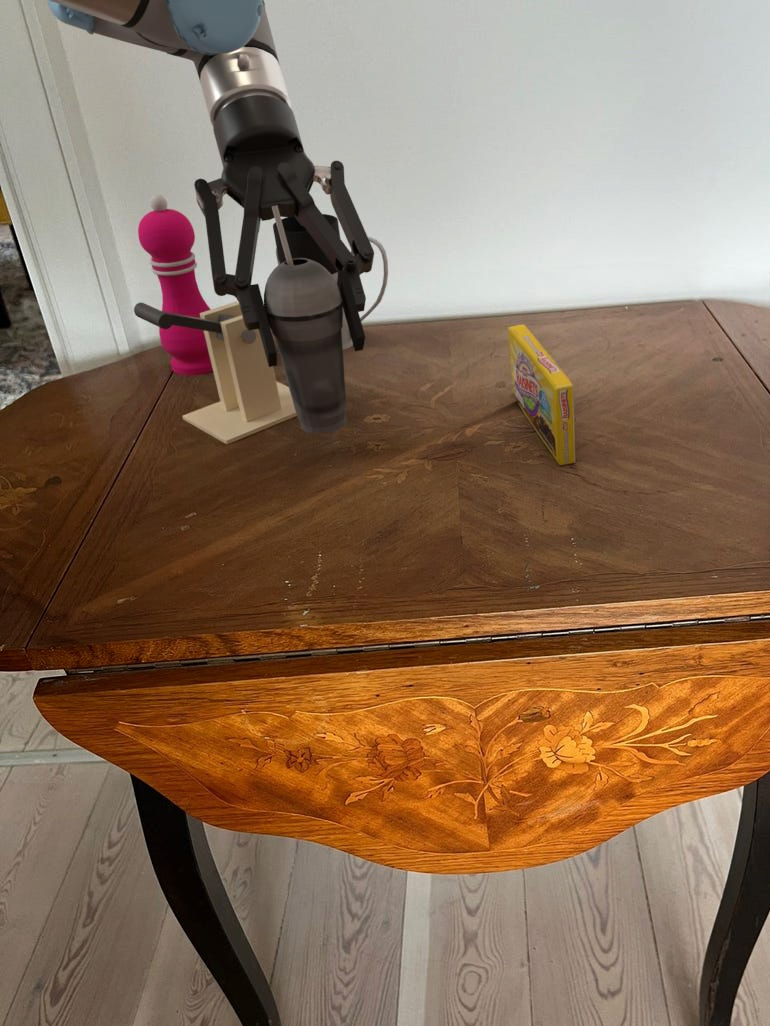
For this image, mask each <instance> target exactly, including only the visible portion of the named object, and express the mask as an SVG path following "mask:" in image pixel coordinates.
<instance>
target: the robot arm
mask: <svg viewBox="0 0 770 1026" xmlns="http://www.w3.org/2000/svg"><path fill="white" fill-rule="evenodd" d="M46 2H47V4H48V7H49V10H50V11H51V13H52V15H54V17H55V18H56V19H57V20H59V22H61V23H63V24H65V25H69V26H71V27H74V28H78V29H81V30H84V31H86V32H87V33H88V34H89V35H94V34H96V35H100V36H103V37H107V38H110V39H113V40H118V41H120V42H125V43H128V44H132V45H135V46H139V47H142V48H146V49H151V50H153V51H154V50H155V51H159V52H162V53H166V54H167V55H170V56H174V57H178V58H182V59H186V60H188V61H192V62H193V65H194V67H195V71H196V74H197V76H198V79H199V83H200V86H201V90H202V94H203V98H204V101H205V105H206V109H207V113H208V116H209V121H210V123H211V125H212V128H213V129H212V130H213V135H214V138H215V142H216V145H217V150H218V153H219V157H220V161H221V165H222V171H221V177H220V178H217V179H214V180H212V181H209V182H208V181H207V179H204V178H197V179H195V181H194V182H193V183H194V185H193V186H194V193H195V199H196V203H197V205H198V207H199V209H200V211H201V214H203V216H204V219H205V227H206V235H207V244H208V245H207V246H208V252H209V261H210V271H211V278H212V284H213V290H214V293H215V294H216V295H217V296H219V297H223V296H224V297H225V296H226V295H228V296H233V297H234V298H236V301H237V302H239V305H240V309H241V313H242V316H243V320H244V324H245V326H246V328H247V329H248V330H249V331H250V330H255V329H259V332H260V336H261V340H262V343H263V347H264V351H265V354H266V358H267V362H268V366H269V367H272V366H273V367H277V366H278V351H277V347H276V345H275V341H274V336H273V334H272V331H271V329H270V326H269V322H268V318H267V314H266V311H265V307H264V299H263V296H262V292H261V290H260V286H259V285H260V284H259V283H254V284H252V280H253V274H254V265H255V259H256V253H257V245H258V238H259V233H260V229H261V222H264V221H265V222H266V221H270V220H273V219H275V217H274V214H273V210H272V206H276V205H277V206H278V210H279V213H280V217H281V218H287V217H292V216H294V217H295V218H296V219H297V221H298V222H299V223H300V225H301V226H304V227H305V228H306V230H307V231H308V232H309V234H310V235H311V236H312V238H313V239H314V240H315V242H316V243H317V244H318V246H319V247H320V248H321V250H322V251H323V252H324V254H325V255H326V257H327V258H328V259H329V261H330V262H331V263H332V265H333V266H334V267H335V269H336V270H337V271H338V278H337V284H338V287H339V290H340V294H341V297H342V298H343V301H344V306H343V310H344V314H345V317H346V321H347V324H348V328H349V332H350V335H351V339H352V342H353V345H352V347H353V349H354V352H359V351H363V350H364V347H365V340H366V335H365V331H364V328H363V323H362V322H361V320H360V318H361V316H360V312H364V311H365V308H366V300H367V296H366V293H365V290H364V287H363V283H362V279H361V275H362V274H364V273H365V274H367V273H369V272H371V271H372V269H373V264H374V257H375V250H374V248H373V246H372V244H371V242H370V241H369V239H368V237H369V236H368V234H367V232H366V230H365V227H364V226H363V223H362V220H361V218H360V216H359V213H358V212H357V209H356V207H355V205H354V204H355V203H354V202H353V199H352V198H351V195H350V193H349V191H348V188H347V186H346V183H345V166H344V164H343V162H342V161H340V160H333V161H332V162H331V163H330V166H326V165H325V166H323V165H315V164H314V163H313V161H312V160H311V159H310V158H309V157H308V156H307V154H306V151H305V149H304V146H303V141H302V138H301V135H300V131H299V127H298V124H297V120H296V117H295V113H294V111H293V109H292V101H291V98H290V95H289V93H288V88H287V85H286V82H285V79H284V75H283V72H282V68H281V66H280V61H279V57H278V53H277V50H276V46H275V41H274V38H273V34H272V29H271V27H270V22H269V18H268V15H267V10H266V3H265V1H264V0H46ZM314 182H315V183H318V184H319V185H320V187H321V189H322V191H323V192H324V194H326V195H329V198H330V202H331V205H332V208H333V210H334V213H335V215H336V218H337V219H338V223H339V224H340V227H341V229H342V231H343V233H344V236H345V239H346V240H347V242H348V246H349V247H350V249H349V247H347V245H346V244H345V243H344V241H343V240H342V239H341V236H340V237H339V236H338V235H337V233H336V232H335V231H334V229H333V228H332V227H331V225H330V224H329V223H328V221H327V220H326V219H325V217H324V216H323V215H322V214H323V213H322V212H321V210H320V209H319V207H318V206H317V205H316V203H315V200H314V198H313V196H312V195H311V193H310V191H311V189H312V187H313V185H314ZM225 195H227V196H228V197H230V199H232V200H233V201H234V202H235V203H237V204H238V205H239V206H240V207H241V208H243V218H242V224H241V231H240V238H239V246H238V250H237V251H238V252H237V258H236V266H235V271H234V274H230V273H227V271H226V270H227V269H226V261H225V253H224V244H223V236H222V230H221V229H222V227H221V221H220V209H221V208H222V207H223V205H224V199H223V197H224V196H225ZM351 250H352V252H353V254H354V256H353V255H352V254H351Z"/></svg>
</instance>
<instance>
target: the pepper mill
mask: <svg viewBox="0 0 770 1026" xmlns="http://www.w3.org/2000/svg"><path fill="white" fill-rule="evenodd" d="M149 205H150V207H151V211H149V212H147V213H146V214H145V215H143V217H141V219H140V221H139V223H138V227H137V235H138V241H139V244H140V246H141V248H142V249H143V250H144V251H145V252H146V253H147V254H148V255H150V256H151V257H150V258H149V264H150V265H151V272H152V273H153V274H154V275H156V276H157V278H158V281H159V284H160V291H161V296H162V297H161V298H162V304H161V305H162V306H161V311H163V312H169V313H175V314H180V315H186V316H191V317H197V318H201V317H200V313H202V312H205V311H208V310H211V309H212V308H211V307H210V306H209V305H208V303H207V302H206V301H205V299H204V298H203V295H202V293H201V291H200V289H199V285H198V283H197V279H196V272H195V271H196V270H195V269H196V268H197V267H198V263H197V261H196V254H195V253H194V252H192V248H193V247H194V244H195V241H196V233H195V230H194V227H193V225H192V223H191V221H190V220H189V218H188V217H187V216H186V215H185V214H184V213H182V212H180V211H179V210H176V209H171V208H168V201H167V199H166V197H164V196H163V195H162V194H154V195H153V196H151V198H150V200H149ZM158 330H159V331H158V334H159V340H160V344H161V346H162V349H163V350H164V351H165V352H166V353H168V354H169V355H170V356H172V358H171V359H170V366H171V370H172V372H173V373H175V374H178V375H181V376H197V375H203V374H208V373H211V372H213V368H212V364H211V359H210V355H209V351H208V347H207V343H206V338H205V334H204V330H198V329H192V328H186V327H180V326H174V325H172V326H171V327H170V328H169V329H162V328H160V327H158Z"/></svg>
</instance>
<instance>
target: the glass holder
mask: <svg viewBox="0 0 770 1026" xmlns="http://www.w3.org/2000/svg"><path fill="white" fill-rule="evenodd" d="M322 215H323V216H324V217H325V219H326V220H327V221H328V223H329V224H330V225H331V227H332V228H333V229H334V231H335V232H336V233H337V235H338V236H339V237H340V238H341V232H340V225H339V220H338V217H337V216H335V215H332V214H326V213H322ZM281 221H282V224H283V228H284V232H285V235H286V239H287V243H288V246H289V250H290V253H291V257H292V259H293V258H306V259H310V260H313V261H315V262H317V263H319V264H321V265H322V266H323V267H324V268H326V269H327V270H328V271H329V272H330V273H331V275H332V276H333V277H334V279H335V281H336V283H337V278H338V271H337V270H336V269H335V267H334V266H333V265H332V263H331V262H330V261H329V259H328V258H327V257H326V255H325V254H324V252H323V251H322V250H321V248H320V247H319V246H318V244H317V243H316V242H315V240H314V239H313V238H312V236H311V235H310V234H309V232H308V231H307V230H306V228H305V227H304V226H301V225H300V223H299V222H298V221H297V219H296V218H295V217H294V216H292V217H283V218H281ZM272 230H273V235H274V241H275V247H276V248H275V257H276V260H277V261H276V262H277V266H278V265H279V264H281V263H282V262H284V261H286V257H285V254H284V250H283V246H282V243H281V239H280V235H279V232H278V228H277V225H276V221H274V223H273V224H272ZM367 237H368V239H369V241H370V243H372V244H373V245H375V246H376V247H377V249H378V250H379V252H380V253H381V258H382V264H383V278H382V285H381V287H380V291H379V294H378V296H377V298H376V300H375V301H374V303H373V304H372V306H371V307H370V308H369V309H368V310H367V311H366V312H365V313H364V314H363V315H362V316H360V320H361V323H362V322H363V321H364V320H366V318H367V317H368V316H369V315H370V314H371V313H372V312H373V311H374V310H375V309H376V308H377V307H378V306H379V304H380V303H381V302H382V300H383V297H384V295H385V292H386V288H387V285H388V279H389V263H388V262H389V261H388V255H387V252H386V249H385V248H384V246H383V243H381V242H380V241H378V240H377V239H376V238H374V237H371V236H367ZM350 252H351V254H352V255H353V256H354V254H353V252H352V250H351V249H350ZM342 308H343V307H342ZM341 331H342V346H343V351H345V350H347V349H349V348H351V347H353V342H352V339H351V335H350V332H349V328H348V324H347V321H346V317H345V314H344V310H343V321H342V328H341Z"/></svg>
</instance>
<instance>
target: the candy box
mask: <svg viewBox="0 0 770 1026" xmlns="http://www.w3.org/2000/svg"><path fill="white" fill-rule="evenodd" d="M508 341H509V342H508V345H509V357H510V358H509V359H510V370H511V371H510V372H511V383H512V393H513V395H514V396H515V397H516V399H517V400H516V403H517V405H518V406H519V408H520V409H521V410H522V412H523V414H524V415H525V417H526V418H527V420H528V422H529V423H530V424H531V426H532V428H533V429H534V431H535V432H536V433H537V435H538V436H539V438H540V439H541V441H542V442H543V443H544V445H545V446H546V448H547V450H548V451H549V452H550V454H551V455H552V456H553V459H554V460H555V461H556V463H557V464H558V466H565V465H570V464H575V463H576V438H575V437H576V436H575V435H576V433H575V432H576V431H575V406H574V405H575V399H574V384H573V383H572V382H571V380H570V379H569V378H568V376H567V375H566V374H565V372H564V371H563V370H562V369H561V367H560V366H559V365H558V364H557V362H556V361H555V360H554V359H553V358H552V357H551V355H550V354H549V353H548V351H546V349H545V348H544V346H543V345H542V344H541V343H540V342H539V340H538V339H537V338H536V337H535V335H533V334H532V332H531V330H529V329H528V327H527V326H526V325H525V324H517V325H512V326H508Z"/></svg>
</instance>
